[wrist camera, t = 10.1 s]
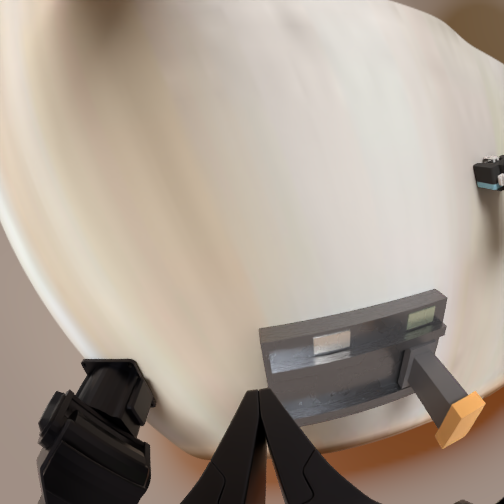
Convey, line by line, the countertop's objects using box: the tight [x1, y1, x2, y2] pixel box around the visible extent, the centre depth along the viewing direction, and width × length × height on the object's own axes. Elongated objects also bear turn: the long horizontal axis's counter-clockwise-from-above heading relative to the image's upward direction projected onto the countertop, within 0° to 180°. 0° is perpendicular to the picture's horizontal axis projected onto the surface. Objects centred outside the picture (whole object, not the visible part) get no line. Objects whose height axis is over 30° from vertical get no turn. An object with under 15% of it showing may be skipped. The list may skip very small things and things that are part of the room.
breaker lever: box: [398, 339, 485, 449], centre depth 17 cm, size 3×5×10 cm, turn 9°
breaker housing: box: [259, 289, 447, 427], centre depth 22 cm, size 17×12×3 cm
